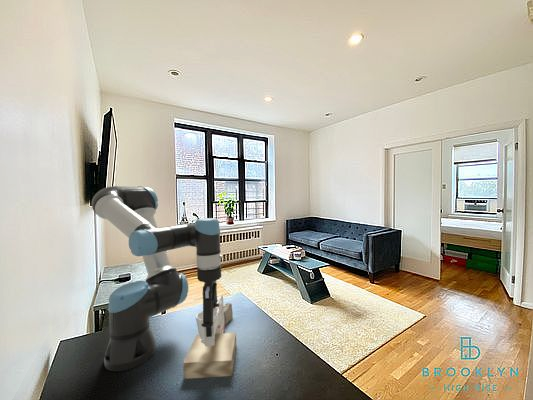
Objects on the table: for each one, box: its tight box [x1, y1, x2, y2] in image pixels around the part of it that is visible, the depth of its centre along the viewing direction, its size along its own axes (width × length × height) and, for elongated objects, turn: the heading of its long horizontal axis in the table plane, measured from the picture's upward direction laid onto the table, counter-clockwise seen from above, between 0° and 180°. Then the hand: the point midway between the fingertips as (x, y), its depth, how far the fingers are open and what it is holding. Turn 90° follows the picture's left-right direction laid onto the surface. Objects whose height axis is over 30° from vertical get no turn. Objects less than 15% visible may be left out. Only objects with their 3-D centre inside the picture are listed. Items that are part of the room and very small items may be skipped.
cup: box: [195, 310, 219, 344], centre depth 74 cm, size 7×10×8 cm
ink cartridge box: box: [215, 294, 226, 334], centre depth 87 cm, size 9×5×15 cm, turn 2°
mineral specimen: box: [224, 302, 233, 326], centre depth 97 cm, size 13×7×6 cm, turn 162°
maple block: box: [182, 332, 237, 380], centre depth 75 cm, size 14×14×5 cm
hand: (211, 335), depth 74 cm, fingers closed on cup, 9 cm apart
